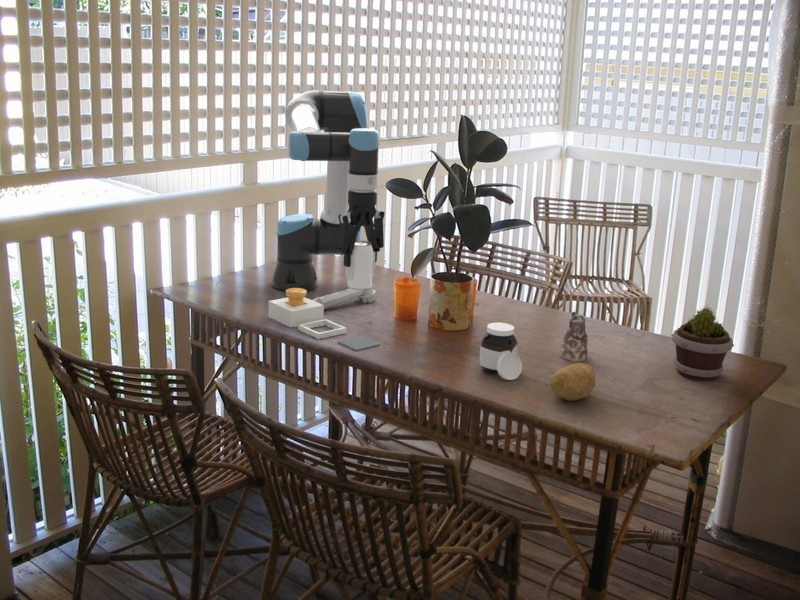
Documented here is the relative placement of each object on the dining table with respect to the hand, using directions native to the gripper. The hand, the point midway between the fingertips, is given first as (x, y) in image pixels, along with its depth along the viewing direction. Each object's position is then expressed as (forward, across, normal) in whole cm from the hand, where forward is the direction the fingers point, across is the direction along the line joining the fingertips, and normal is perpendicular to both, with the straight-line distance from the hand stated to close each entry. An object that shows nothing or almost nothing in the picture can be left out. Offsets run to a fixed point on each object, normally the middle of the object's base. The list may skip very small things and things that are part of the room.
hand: (359, 276), depth 233 cm
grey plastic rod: (+20, +18, +30) cm, 40 cm away
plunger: (+18, -2, +27) cm, 32 cm away
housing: (+19, -2, +21) cm, 28 cm away
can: (+3, 0, 0) cm, 3 cm away
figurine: (+19, +42, -40) cm, 61 cm away
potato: (+19, +19, -58) cm, 64 cm away
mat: (+19, 0, 0) cm, 19 cm away
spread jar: (+19, +17, -37) cm, 45 cm away
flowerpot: (+19, +59, -67) cm, 92 cm away
